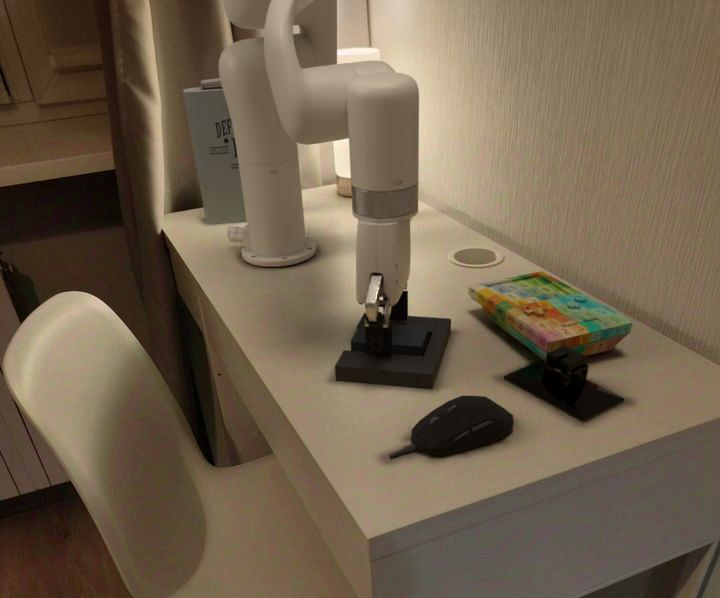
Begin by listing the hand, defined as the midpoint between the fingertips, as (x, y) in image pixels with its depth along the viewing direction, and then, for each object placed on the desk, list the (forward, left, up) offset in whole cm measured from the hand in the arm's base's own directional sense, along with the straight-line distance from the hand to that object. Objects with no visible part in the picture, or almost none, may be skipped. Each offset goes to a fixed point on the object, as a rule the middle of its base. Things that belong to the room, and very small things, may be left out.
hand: (387, 336), depth 92 cm
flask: (-38, +50, -3) cm, 63 cm away
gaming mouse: (+11, -17, -3) cm, 21 cm away
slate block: (0, 0, -2) cm, 3 cm away
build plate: (+22, -5, -3) cm, 23 cm away
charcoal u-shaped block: (+1, 0, -2) cm, 3 cm away
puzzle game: (+19, +9, -2) cm, 21 cm away
